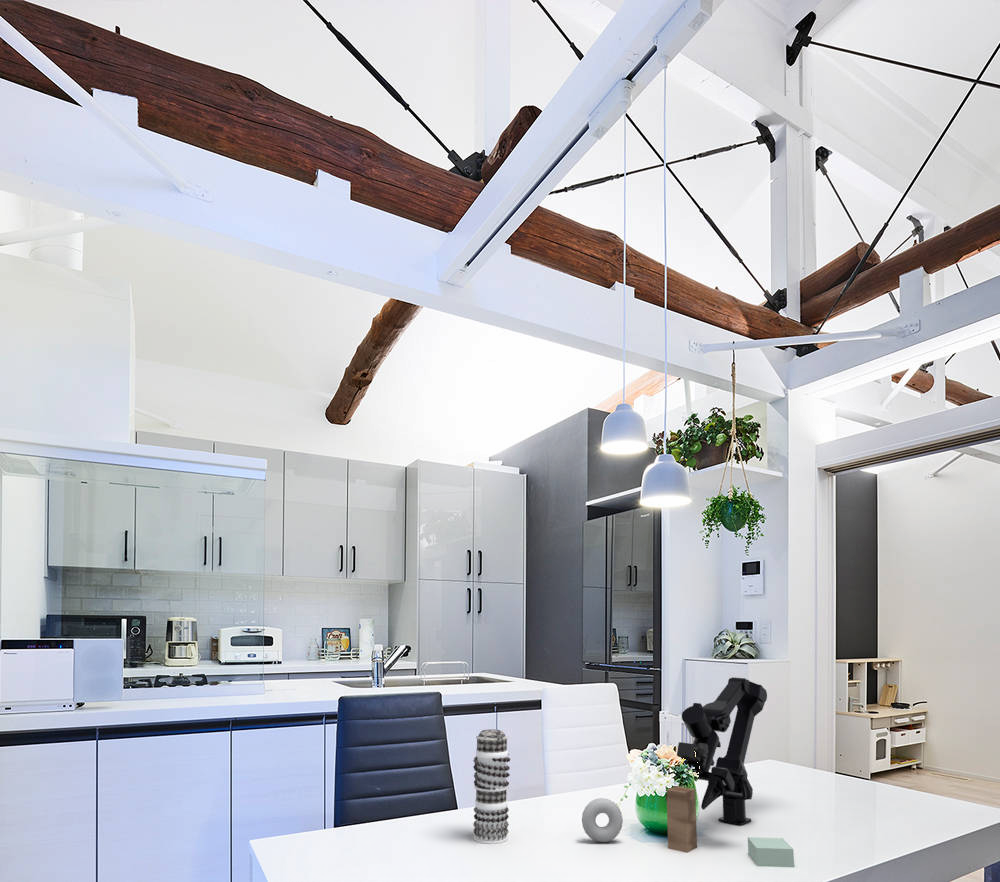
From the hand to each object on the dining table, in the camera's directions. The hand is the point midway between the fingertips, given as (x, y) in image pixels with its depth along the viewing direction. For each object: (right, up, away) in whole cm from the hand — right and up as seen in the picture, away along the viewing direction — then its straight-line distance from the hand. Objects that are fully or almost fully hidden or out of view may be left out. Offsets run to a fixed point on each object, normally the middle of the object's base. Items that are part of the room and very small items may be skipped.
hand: (684, 805), depth 190 cm
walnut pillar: (-1, -9, -3) cm, 9 cm away
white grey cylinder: (-47, -10, +3) cm, 48 cm away
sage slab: (+17, -7, -12) cm, 22 cm away
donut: (-20, -9, +1) cm, 22 cm away
